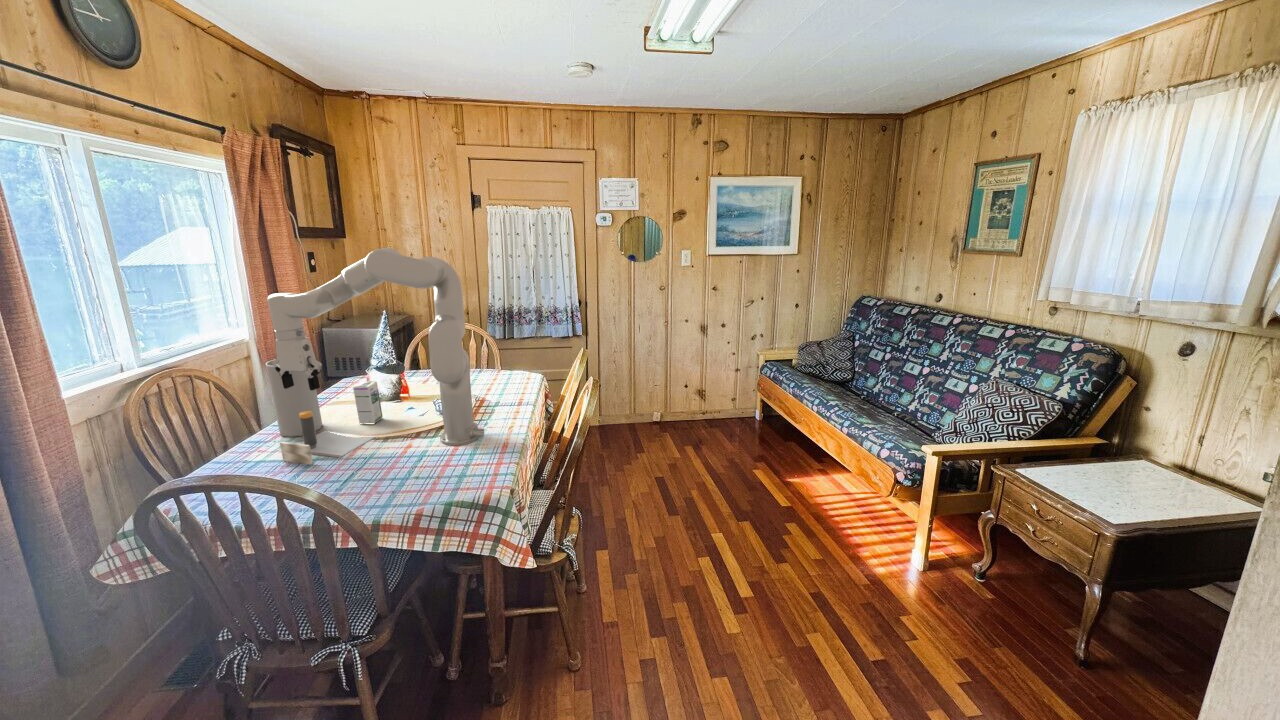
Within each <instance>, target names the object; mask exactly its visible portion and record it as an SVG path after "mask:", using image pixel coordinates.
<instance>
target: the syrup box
mask: <svg viewBox="0 0 1280 720" xmlns="http://www.w3.org/2000/svg"><path fill="white" fill-rule="evenodd" d="M352 388H353V395H354V399H355V400H354V401H355V405H356V406H355V407H356V411H357V416H358V424H360V423H375V422H377V421H378V420H380V419H381V418H382V417H383V411H382V406H381V400H380V399H381V398H380V392H379V386H378V382H377V381H372V380H371V381H370V380H369V381H361V382H359V383H358V384H356V385H354V386H353V387H352ZM383 418H384V417H383ZM381 420H382V419H381ZM381 420H380V421H381ZM377 423H378V422H377Z"/></svg>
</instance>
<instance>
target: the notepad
mask: <svg viewBox="0 0 1280 720" xmlns="http://www.w3.org/2000/svg"><path fill="white" fill-rule="evenodd" d="M328 431H329V430H324V431H323V432H320V433H318V434H316V439H317V444H316V447H315V448H313V449H311V454H312V456H316V457H317V456H319V457H325V458H327V457H328V458H335V459H340V458H342V457H343V456H345V455H347V454H349V453H351V452H352V451H354V450H355V449H358V448H359V447H361V446H363V445H365V444H366V443H368V442H370V441H372V440H373V439H375V438H374V437H365V438H350V437H344V436H341V435H337V434H334V433H330V432H328ZM299 444H304V441H302V442H299Z"/></svg>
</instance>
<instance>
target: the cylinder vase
mask: <svg viewBox="0 0 1280 720" xmlns="http://www.w3.org/2000/svg"><path fill="white" fill-rule="evenodd" d="M275 359H276V358H275ZM275 359H272V360H269V361H266V362H265V368H266V372H267V377H268V382H269V383H268V384H269V387H270V391H271V397H272V402H273V406H274V407H273V408H274V411H275V412H274V413H275V416H276V417H275V418H276V420H277V426H278V430H279V431H278V432H279V433H280V435H281V436H284V437H289V438H293V437H295V438H296V437H303V433H302V427H301V422H300V417H299V413H301V412H304V411H312V414H313V421H314V427H315V432H317V431H319V430H320V429H321V428H322V427H323V420H322V414H321V410H320V403H319V399H318V398H319V397H318V393H317V389H315V390H313V391H312V390H310V388H309V383H308V378H309V377H308V375H307V374H306V373H305V372H293V371H290V373H289V374H292V378H293V382H294V386H292V387H289V388H287V389H284V387H283V383H282V378H281V377H282V376H279V373H278V372H277V371H276V369H275V367H274V365H273V364H272V361H274V360H275ZM310 372H311V373H312V371H311V370H310ZM321 426H322V427H321Z"/></svg>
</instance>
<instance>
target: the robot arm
mask: <svg viewBox="0 0 1280 720" xmlns="http://www.w3.org/2000/svg"><path fill="white" fill-rule="evenodd" d="M385 282H388V283H392V284H397V285H401V286H406V287H410V288H414V289H422V290H423V289H430V288H432V289H433V304H434V305H433V306H434V321H433V322H432V323H431V325H430V327H429V330H428V337H427V338H428V352H429V363H430V371H431V374H432V376H433V378H434V379H435V380H436V381H437V382H439V383H438V384H439V394H440V404H441V413H442V421H443V428H444V429H443V430H444V432H443V433H441V435H440V438H439V440H440V442H441V443H442V444H443V445H444V444H445V445H446V446H447V445H448V446H461V445H466V444H470V443H473V442H475V441H477V440H478V439H479V438H481V437H482V438H483V437H484V436H485V428H481V427H478V423H476V422H475V421H474V419H475V418H474V410H473V400H472V399H473V397H472V387H471V365H470V364H471V363H470V357H469V354H468V352H467V351H466V350H465V349H464V348H463V338H464V336H465V334H466V323H465V308H464V301H463V289H462V282H461V279H460V276H459V275H458V273H457V272H456V270H455V269H454V268H453V266H452V265H450V264H449V263H448V262H446V261H445V260H443V259H441V258H439V257H435V256H424V257H421V258H416V257H410V256H406V255H403V254H401V252H399V250H397V249H395V248H392V247H382V248H378V249H377V248H376V249H374V250H372V251H370V252H369V253H368V254H367V255H366V257H364V258H362V259H360V260H358V261H356V262H355V263H352V264H350V265H349V266H346V267H345V268H344V269H343V270H341V272H340V274H339V275H338V276H337V277H335V278H333V279H331V280H329V281H328V282H326V283H325V284H323V285H321V286H319V287H316V288H314V289H312V290H309V291H306V292H302V293H298V294H297V293H294V292H279V293H272V294H270V295H268V297H267V304H268V310H269V314H270V317H271V322H272V327H273V331H274V335H275V353H276V358H275V360H274V359H273V360H274V361H272V364H273V365H274V367H275V369H276V371H277V372H278V373H279V376H282V377H281V378H282V383H283V387H284V389H287V388H289V387H292V386H294V382H293V378H292V374H289V373H290V371H293V372H305V373H306V374H307V375H308V377H309V378H308V383H309V388H310V390H312V391H313V390H315V389H316V390H317V389H320V387H321V386H320V382H319V376H320V373H321V371H322V367H323V364H322V362H320V361H318V360H317V359H316V354H315V352H314V348H313V346H312V343H311V340H310V338H309V337H307V336H306V335H307V332H306V330H305V326H304V321H303V319H314V318H318V317H320V316H322V315H323V314H325V313H328V312H330V311H332V310H334V309H336V308H337V307H339V306H342V304H345V303H346V302H348V301H349V300H352V299H353V298H356V297H358V296H361V295H363V294H364V293H367V292H368V291H370V290H372V289H373V288H375V287H377V286H379V285H381V284H382V283H385ZM310 370H311V371H312V373H311V372H310Z"/></svg>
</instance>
